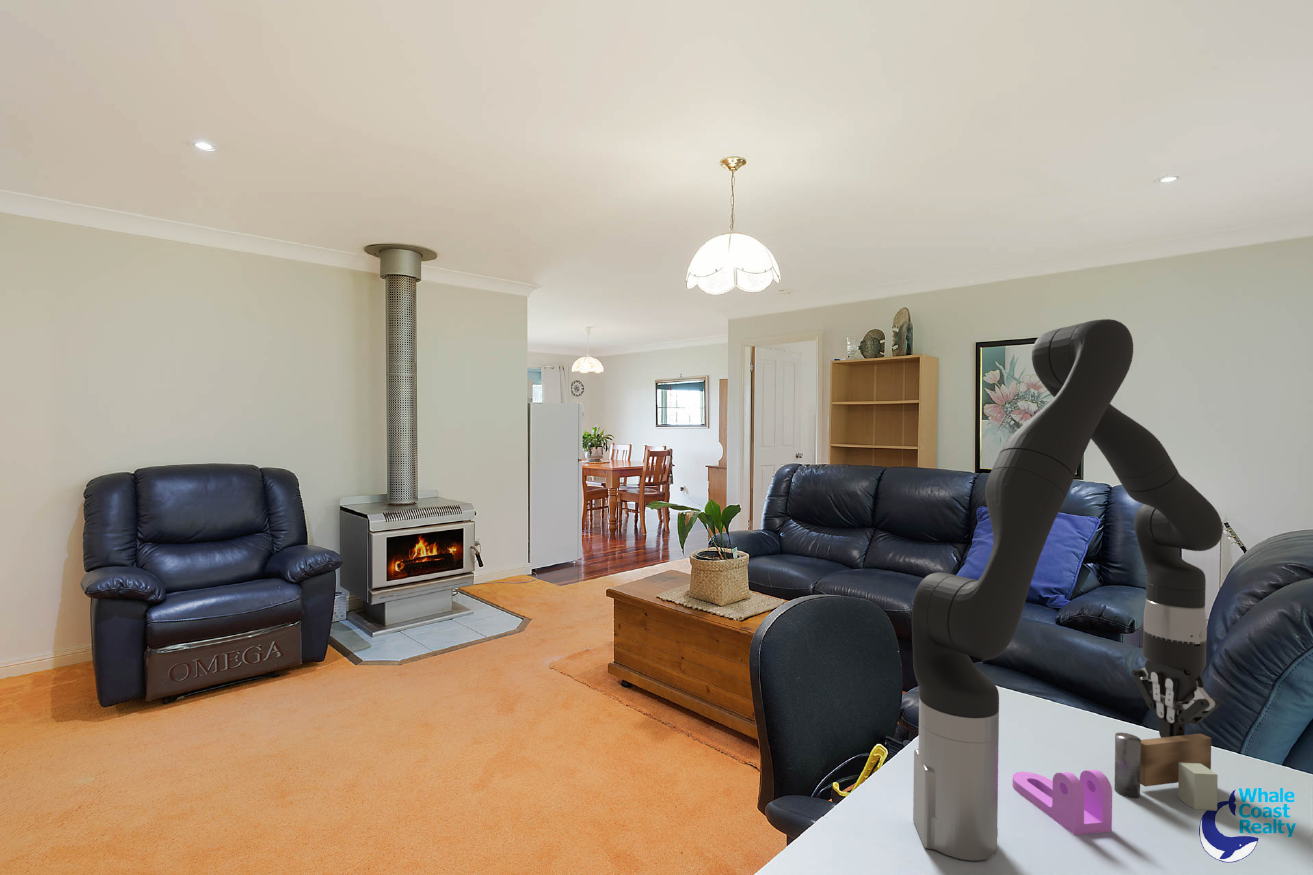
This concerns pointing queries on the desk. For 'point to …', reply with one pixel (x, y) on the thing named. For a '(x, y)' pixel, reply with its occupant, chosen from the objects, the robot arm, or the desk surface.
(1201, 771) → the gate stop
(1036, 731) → the desk surface
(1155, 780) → the gate
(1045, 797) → the bracket
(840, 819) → the desk surface
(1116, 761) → the hinge post
